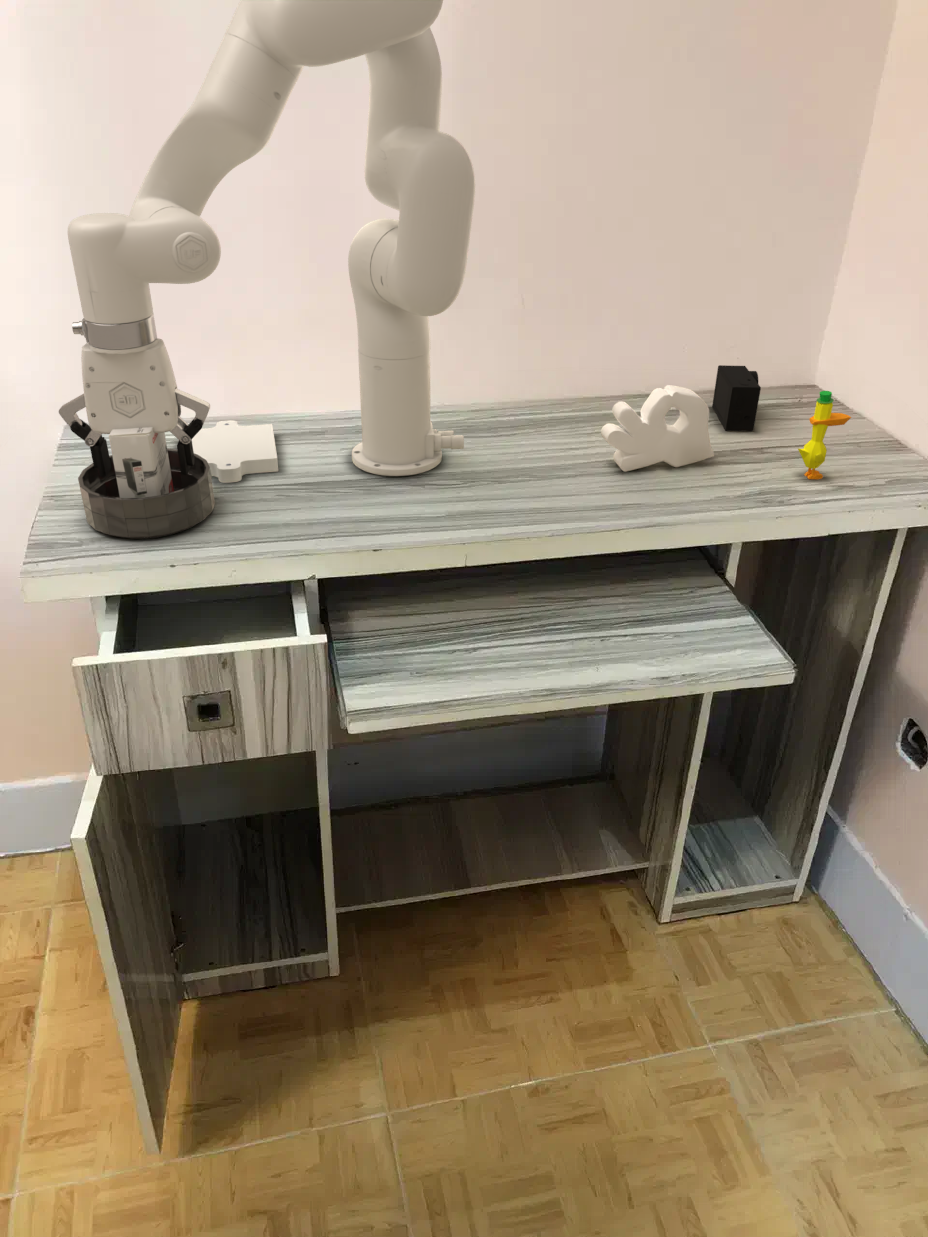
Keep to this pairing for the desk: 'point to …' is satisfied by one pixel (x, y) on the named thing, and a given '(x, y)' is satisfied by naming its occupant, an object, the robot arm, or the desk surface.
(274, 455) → the mounting plate
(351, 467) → the desk surface
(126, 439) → the ink box
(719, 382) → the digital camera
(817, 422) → the toy figure
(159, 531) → the bowl
